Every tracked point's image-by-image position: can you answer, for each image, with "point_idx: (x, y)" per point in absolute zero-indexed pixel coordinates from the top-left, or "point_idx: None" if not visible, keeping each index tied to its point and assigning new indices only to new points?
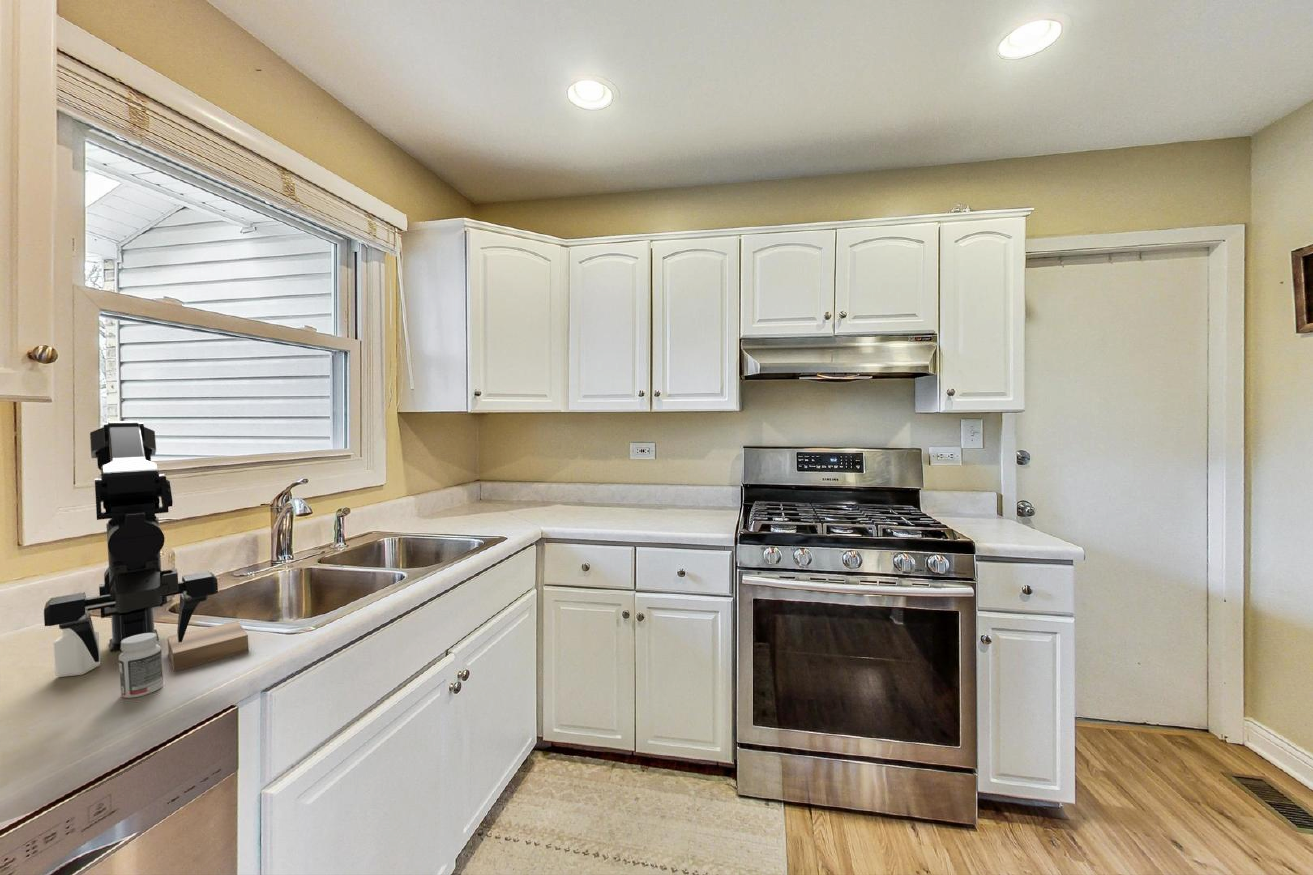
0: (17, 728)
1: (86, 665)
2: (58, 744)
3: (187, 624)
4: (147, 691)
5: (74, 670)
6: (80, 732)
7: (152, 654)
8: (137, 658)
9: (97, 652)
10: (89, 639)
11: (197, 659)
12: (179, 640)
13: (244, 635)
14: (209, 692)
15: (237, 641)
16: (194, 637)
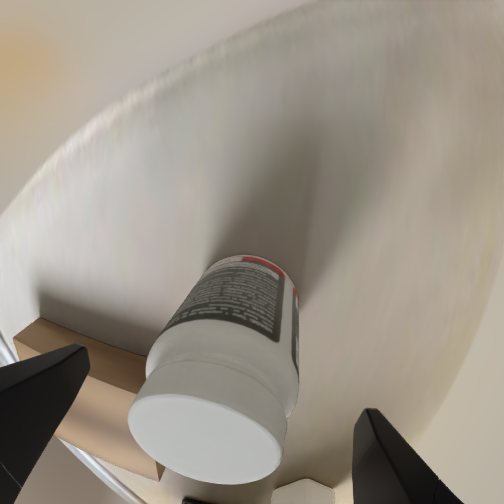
0: (477, 313)
1: (298, 491)
2: (463, 106)
3: (6, 365)
4: (242, 257)
5: (315, 489)
6: (424, 130)
7: (180, 325)
8: (241, 327)
9: (380, 436)
10: (430, 496)
11: (112, 357)
12: (78, 347)
13: (17, 342)
14: (124, 101)
15: (33, 340)
16: (109, 439)
